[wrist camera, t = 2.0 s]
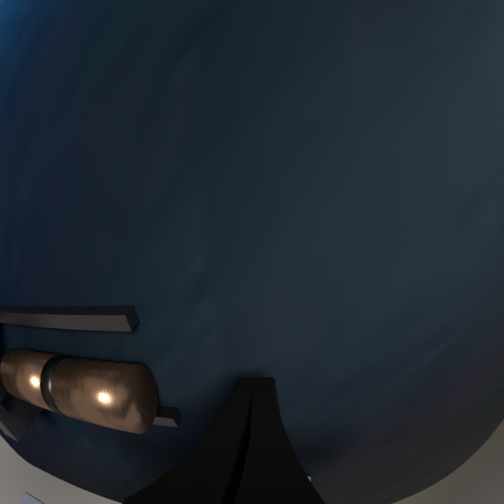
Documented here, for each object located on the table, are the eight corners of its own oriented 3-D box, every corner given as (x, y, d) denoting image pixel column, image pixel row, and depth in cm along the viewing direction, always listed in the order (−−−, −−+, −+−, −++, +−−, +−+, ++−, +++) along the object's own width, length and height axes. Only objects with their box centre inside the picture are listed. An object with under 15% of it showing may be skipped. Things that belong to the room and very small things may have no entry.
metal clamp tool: (186, 426, 14) (163, 497, 10) (1, 381, 17) (-26, 413, 13) (126, 284, 11) (56, 359, 7) (-45, 292, 14) (-81, 320, 9)
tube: (135, 349, 12) (111, 413, 9) (163, 387, 14) (148, 443, 11) (15, 336, 13) (-8, 376, 11) (43, 369, 15) (25, 407, 12)
